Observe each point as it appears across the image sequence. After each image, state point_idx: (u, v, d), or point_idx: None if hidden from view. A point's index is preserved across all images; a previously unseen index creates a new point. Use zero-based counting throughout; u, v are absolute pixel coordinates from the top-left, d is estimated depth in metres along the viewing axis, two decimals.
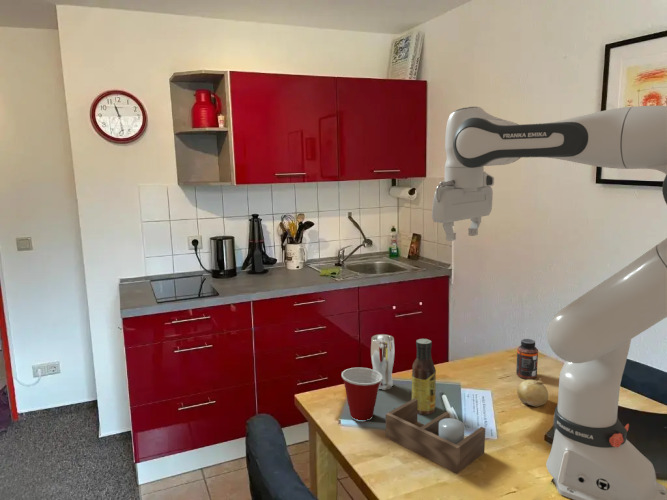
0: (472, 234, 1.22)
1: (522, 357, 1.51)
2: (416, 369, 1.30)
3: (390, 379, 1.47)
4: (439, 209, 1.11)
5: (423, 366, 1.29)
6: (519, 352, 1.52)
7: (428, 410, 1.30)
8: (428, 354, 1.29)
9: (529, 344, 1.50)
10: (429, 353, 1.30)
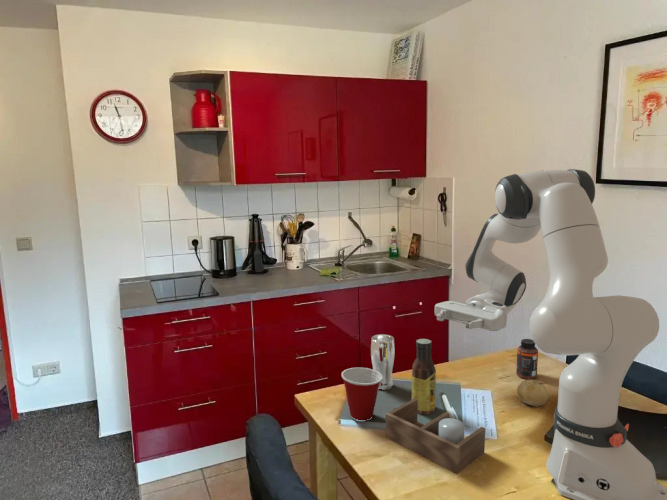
0: None
1: (522, 357, 1.51)
2: (416, 369, 1.30)
3: (390, 379, 1.47)
4: None
5: (423, 366, 1.29)
6: (519, 352, 1.52)
7: (428, 410, 1.30)
8: (428, 354, 1.29)
9: (529, 344, 1.50)
10: (429, 353, 1.30)
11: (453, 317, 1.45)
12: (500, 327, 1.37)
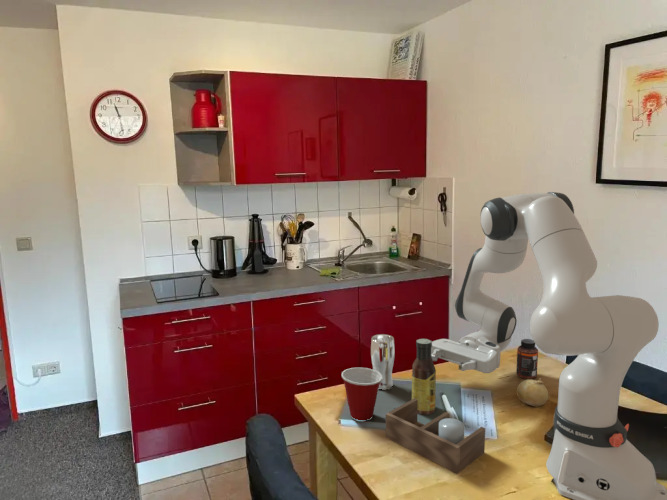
0: None
1: (522, 357, 1.51)
2: (416, 369, 1.30)
3: (390, 379, 1.47)
4: None
5: (423, 366, 1.29)
6: (519, 352, 1.52)
7: (428, 410, 1.30)
8: (428, 354, 1.29)
9: (529, 344, 1.50)
10: (429, 353, 1.30)
11: (446, 357, 1.44)
12: (493, 369, 1.37)
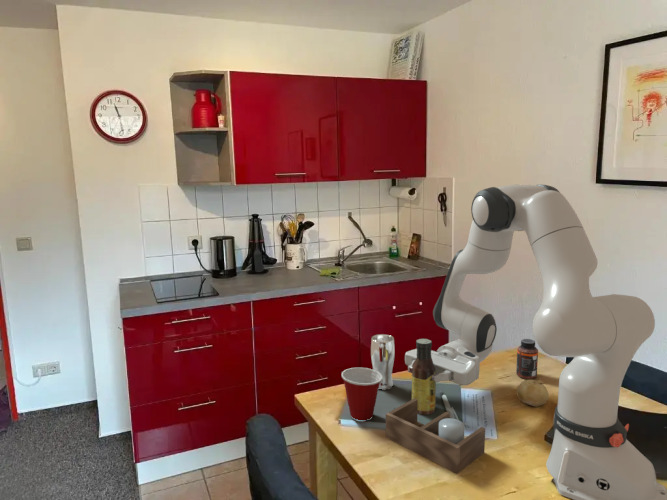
0: None
1: (522, 357, 1.51)
2: (416, 369, 1.30)
3: (390, 379, 1.47)
4: None
5: (423, 366, 1.29)
6: (519, 352, 1.52)
7: (428, 410, 1.30)
8: (428, 354, 1.29)
9: (529, 344, 1.50)
10: (429, 353, 1.30)
11: None
12: (471, 380, 1.30)
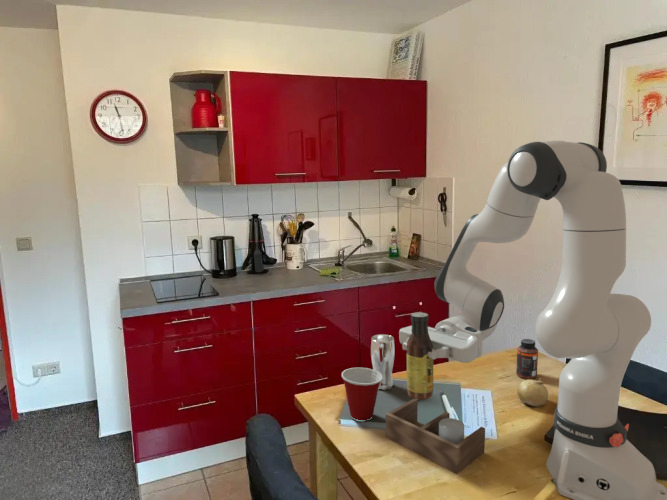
0: None
1: (522, 357, 1.51)
2: (411, 346, 1.16)
3: (390, 379, 1.47)
4: None
5: (419, 342, 1.15)
6: (519, 352, 1.52)
7: (425, 392, 1.16)
8: (424, 329, 1.15)
9: (529, 344, 1.50)
10: (425, 328, 1.15)
11: None
12: (473, 358, 1.15)
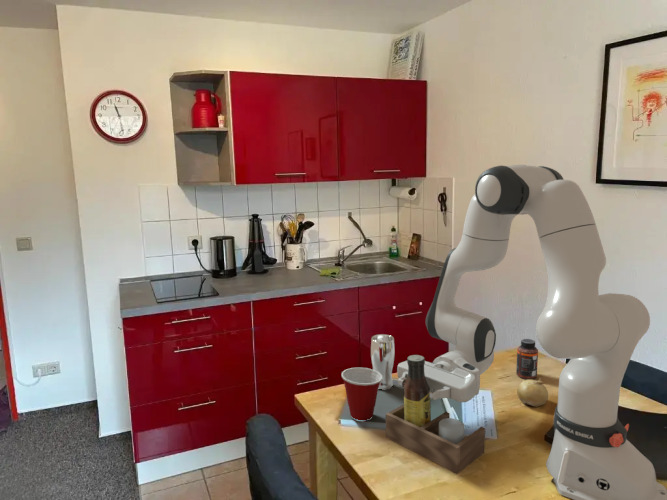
0: None
1: (522, 357, 1.51)
2: (408, 390, 1.16)
3: (390, 379, 1.47)
4: None
5: (416, 386, 1.15)
6: (519, 352, 1.52)
7: None
8: (421, 372, 1.16)
9: (529, 344, 1.50)
10: (422, 371, 1.16)
11: None
12: (471, 397, 1.16)
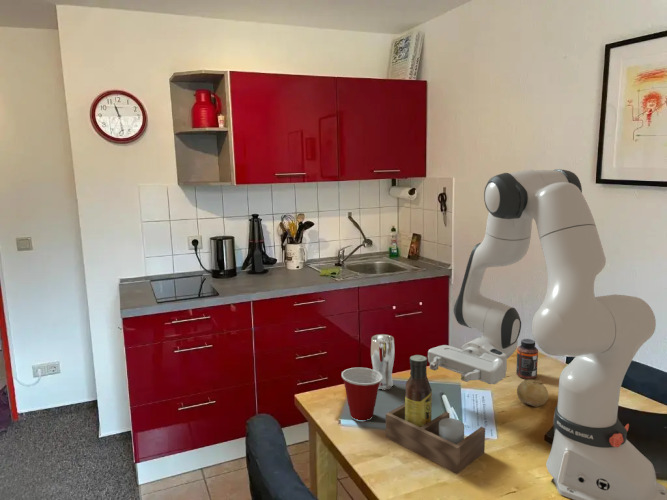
0: None
1: (522, 357, 1.51)
2: (409, 390, 1.16)
3: (390, 379, 1.47)
4: None
5: (418, 386, 1.15)
6: (519, 352, 1.52)
7: None
8: (423, 373, 1.16)
9: (529, 344, 1.50)
10: (424, 371, 1.16)
11: (448, 365, 1.32)
12: (499, 379, 1.25)
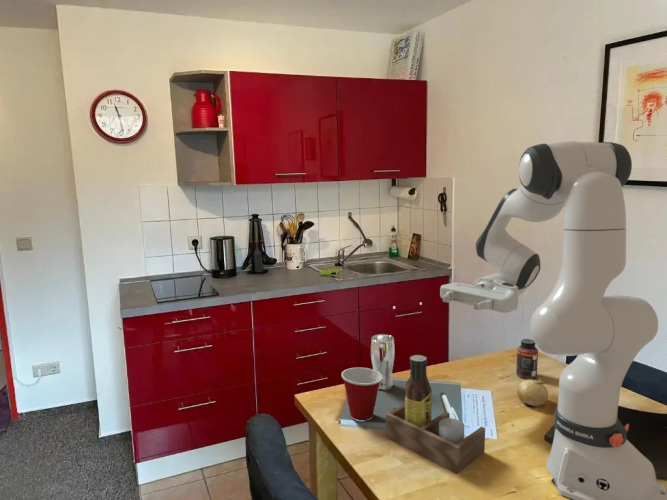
0: None
1: (522, 357, 1.51)
2: (409, 390, 1.16)
3: (390, 379, 1.47)
4: None
5: (418, 386, 1.15)
6: (519, 352, 1.52)
7: None
8: (423, 373, 1.16)
9: (529, 344, 1.50)
10: (424, 371, 1.16)
11: (460, 299, 1.35)
12: (511, 308, 1.27)
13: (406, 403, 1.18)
